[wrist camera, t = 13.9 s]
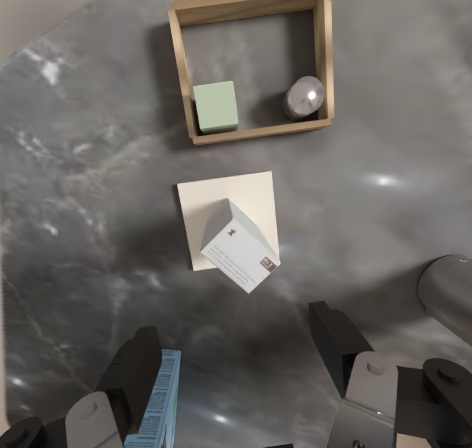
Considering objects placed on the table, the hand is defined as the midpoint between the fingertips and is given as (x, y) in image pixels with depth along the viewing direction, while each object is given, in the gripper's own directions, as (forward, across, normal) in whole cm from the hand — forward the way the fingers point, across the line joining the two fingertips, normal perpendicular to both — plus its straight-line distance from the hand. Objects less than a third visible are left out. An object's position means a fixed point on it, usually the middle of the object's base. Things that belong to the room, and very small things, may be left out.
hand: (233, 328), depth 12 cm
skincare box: (+20, -1, -1) cm, 20 cm away
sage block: (+21, -1, -14) cm, 25 cm away
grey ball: (+21, -10, -14) cm, 27 cm away
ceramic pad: (+21, 0, -1) cm, 21 cm away
